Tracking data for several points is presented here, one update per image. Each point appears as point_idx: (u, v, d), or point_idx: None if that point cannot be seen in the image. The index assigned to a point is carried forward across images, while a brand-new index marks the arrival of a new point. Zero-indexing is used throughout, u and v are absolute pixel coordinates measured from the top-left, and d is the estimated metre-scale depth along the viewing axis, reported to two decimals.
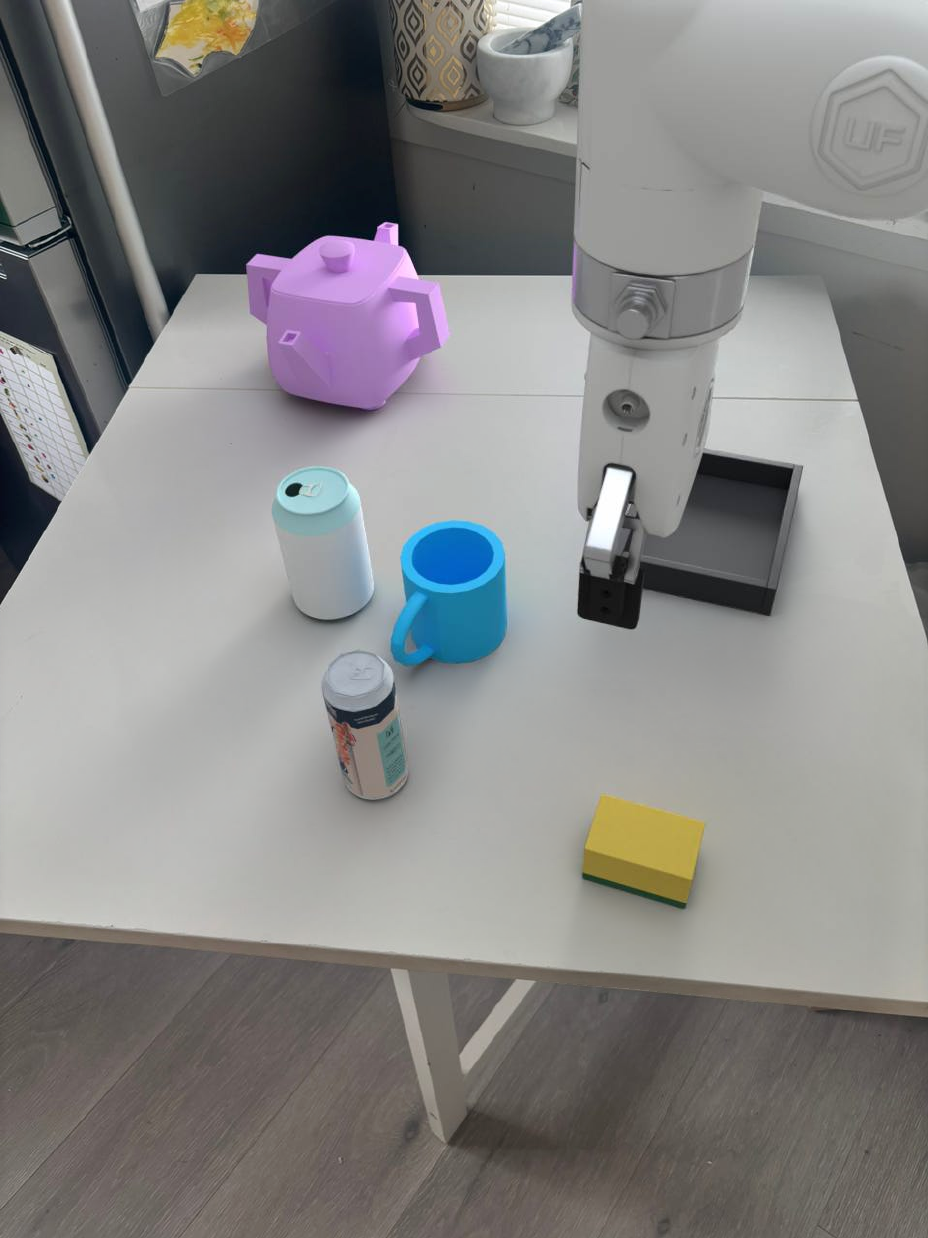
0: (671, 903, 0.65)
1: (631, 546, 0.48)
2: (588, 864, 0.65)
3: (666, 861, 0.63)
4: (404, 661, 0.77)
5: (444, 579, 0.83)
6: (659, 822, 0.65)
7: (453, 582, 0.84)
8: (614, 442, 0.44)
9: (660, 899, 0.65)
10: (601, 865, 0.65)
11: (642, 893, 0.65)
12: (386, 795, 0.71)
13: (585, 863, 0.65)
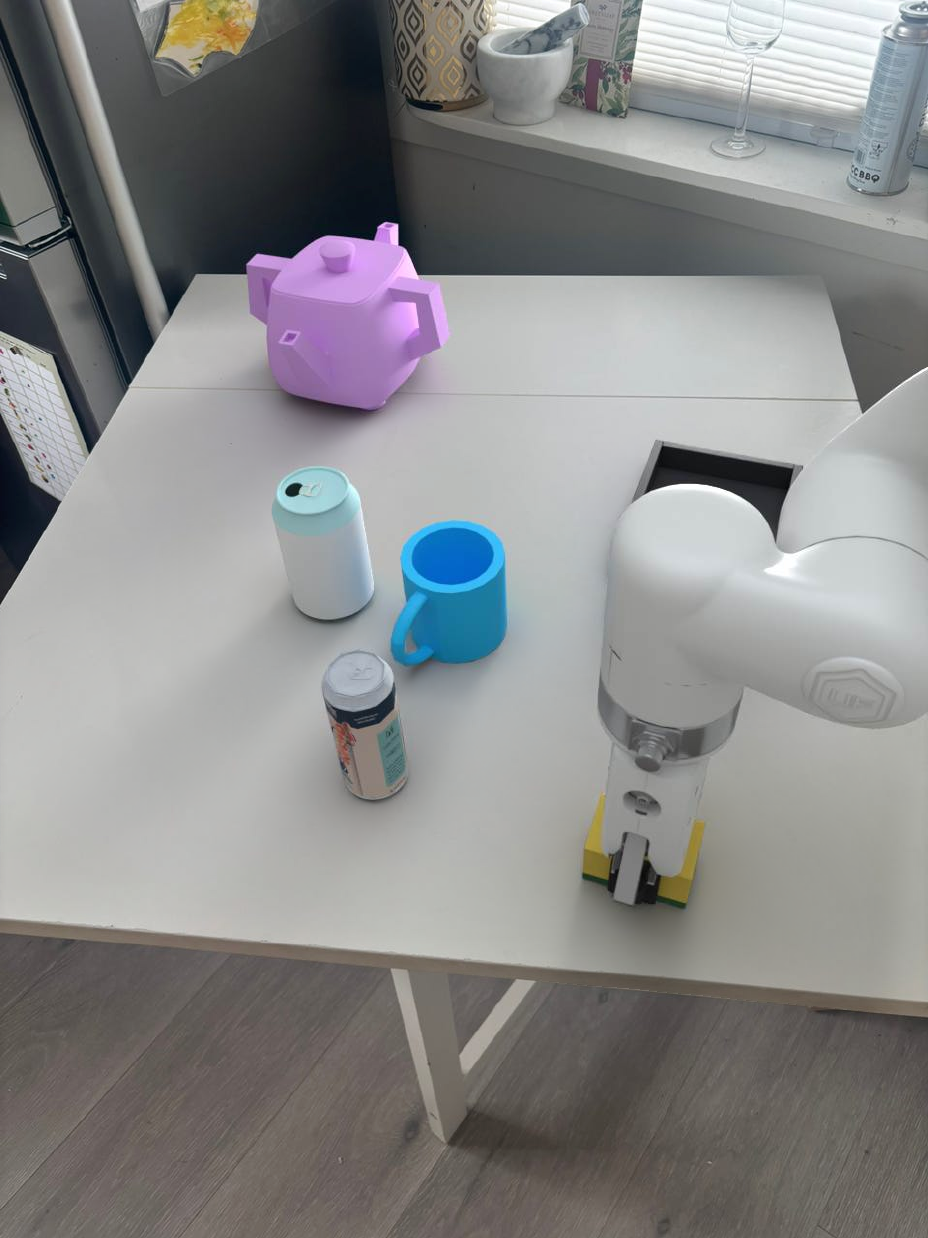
0: (671, 903, 0.65)
1: (649, 867, 0.60)
2: (588, 864, 0.65)
3: None
4: (404, 661, 0.77)
5: (444, 579, 0.83)
6: None
7: (453, 582, 0.84)
8: (632, 821, 0.55)
9: (660, 899, 0.65)
10: (601, 865, 0.65)
11: None
12: (386, 795, 0.71)
13: (585, 863, 0.65)
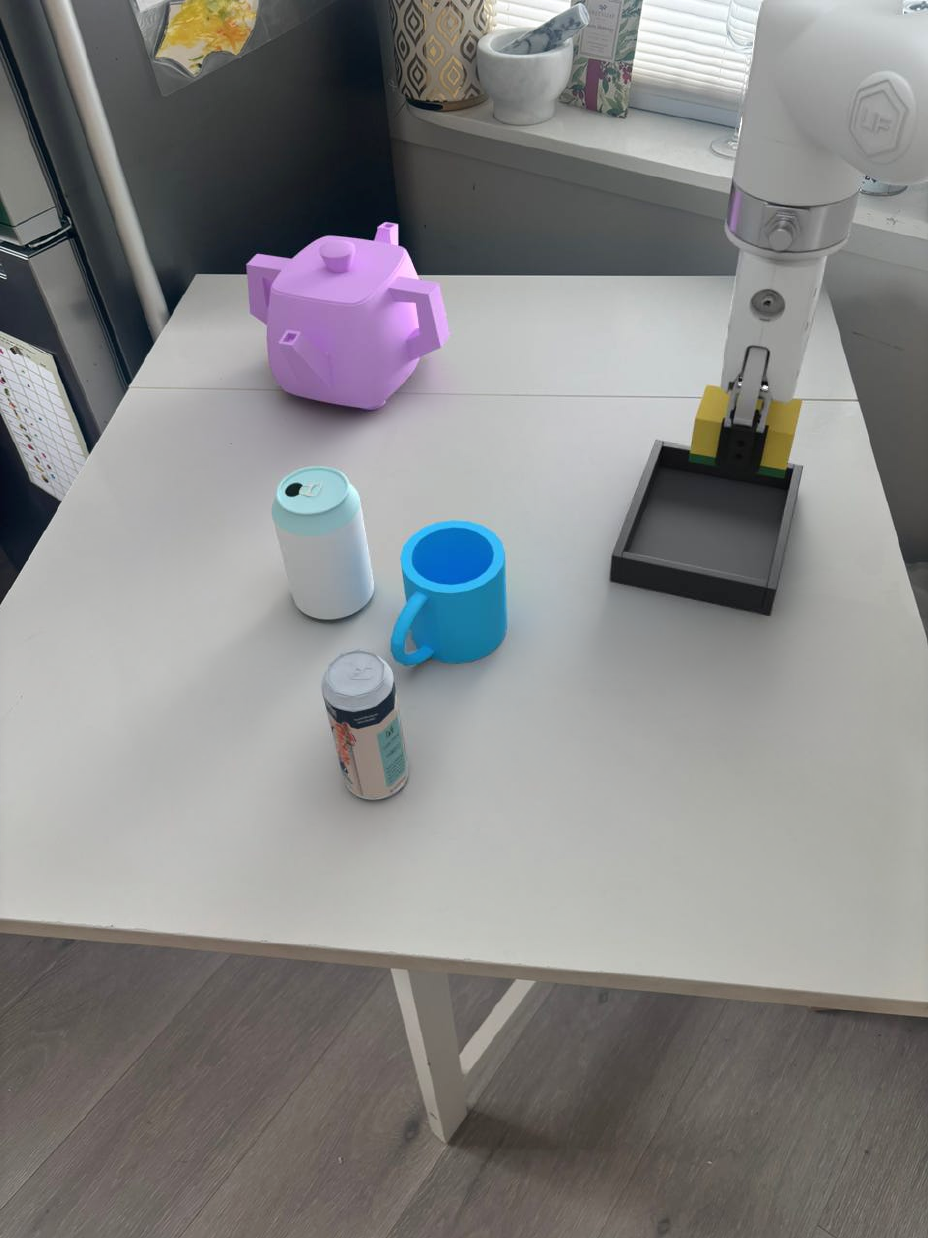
0: (771, 473, 0.73)
1: (761, 410, 0.68)
2: (697, 439, 0.73)
3: (770, 423, 0.71)
4: (404, 661, 0.77)
5: (444, 579, 0.83)
6: (761, 400, 0.73)
7: (453, 582, 0.84)
8: (756, 329, 0.62)
9: (761, 470, 0.73)
10: (709, 437, 0.72)
11: None
12: (386, 795, 0.71)
13: (694, 438, 0.73)
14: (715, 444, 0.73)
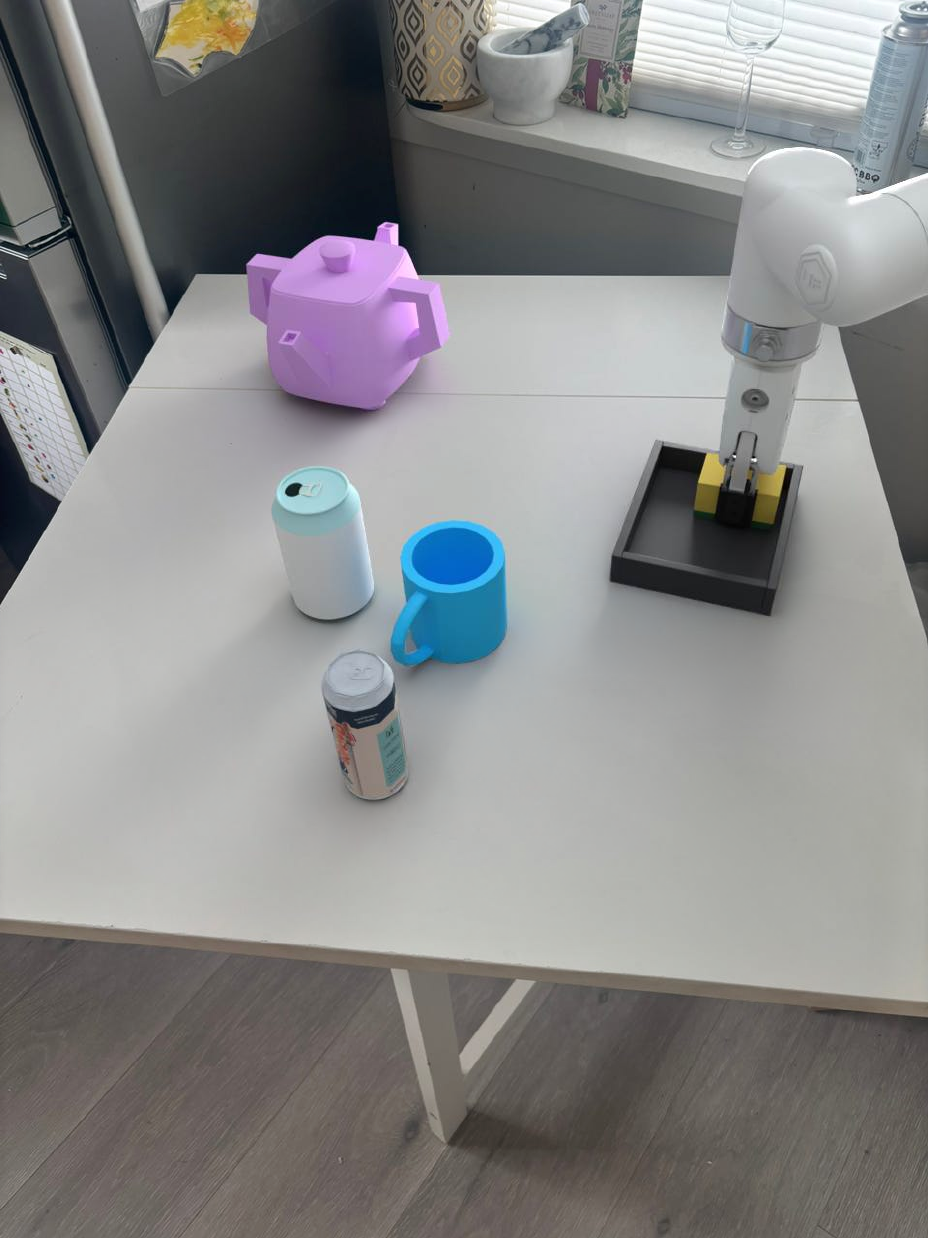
0: (761, 526, 0.88)
1: (751, 479, 0.83)
2: (700, 499, 0.88)
3: (759, 487, 0.86)
4: (404, 661, 0.77)
5: (444, 579, 0.83)
6: None
7: (453, 582, 0.84)
8: (746, 418, 0.78)
9: (753, 524, 0.88)
10: (709, 498, 0.88)
11: None
12: (386, 795, 0.71)
13: (697, 498, 0.88)
14: (714, 503, 0.88)
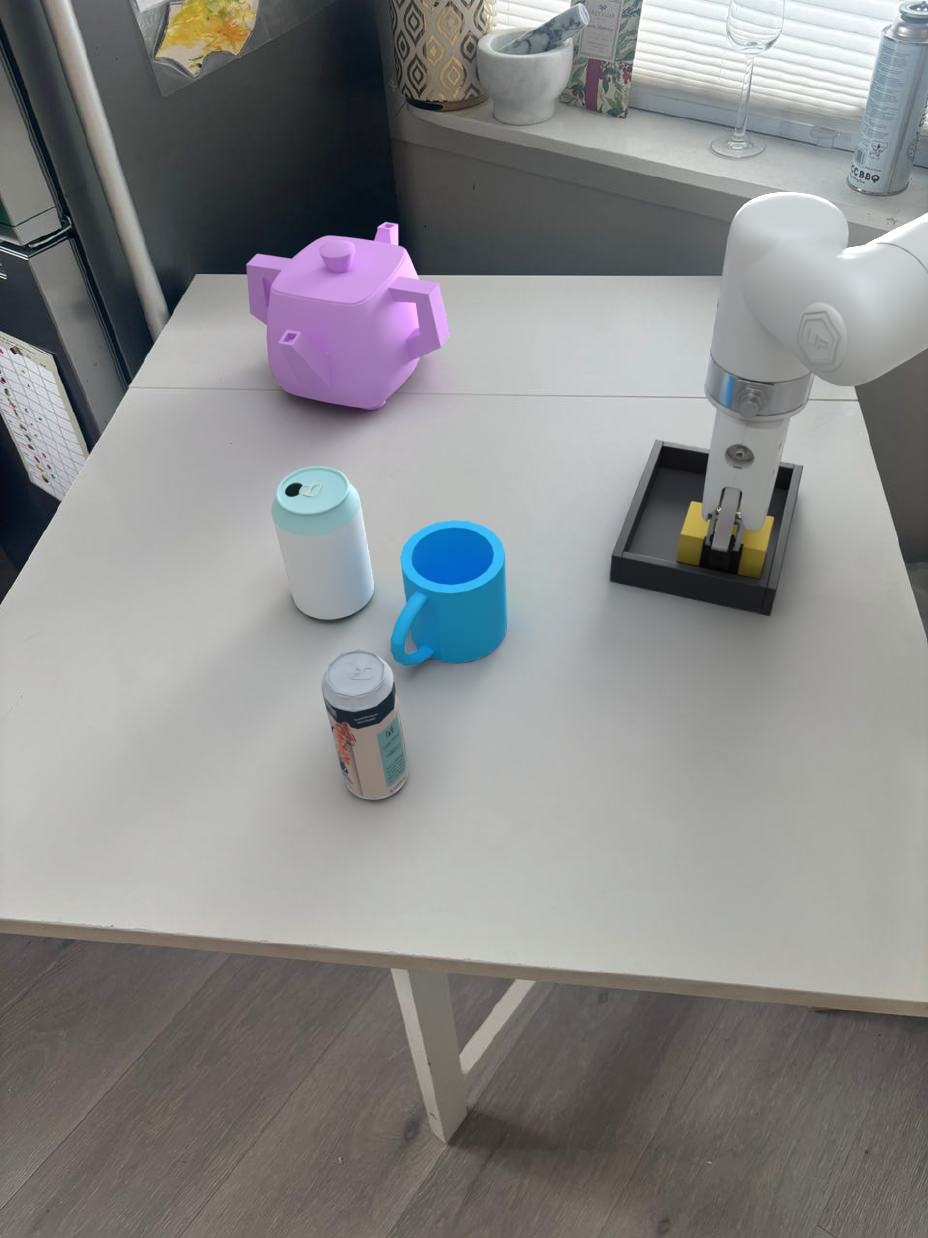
0: None
1: (736, 534, 0.79)
2: (682, 551, 0.84)
3: (745, 540, 0.82)
4: (404, 661, 0.77)
5: (444, 579, 0.83)
6: None
7: (453, 582, 0.84)
8: (730, 474, 0.73)
9: None
10: (693, 549, 0.83)
11: None
12: (386, 795, 0.71)
13: (680, 550, 0.84)
14: (698, 555, 0.84)
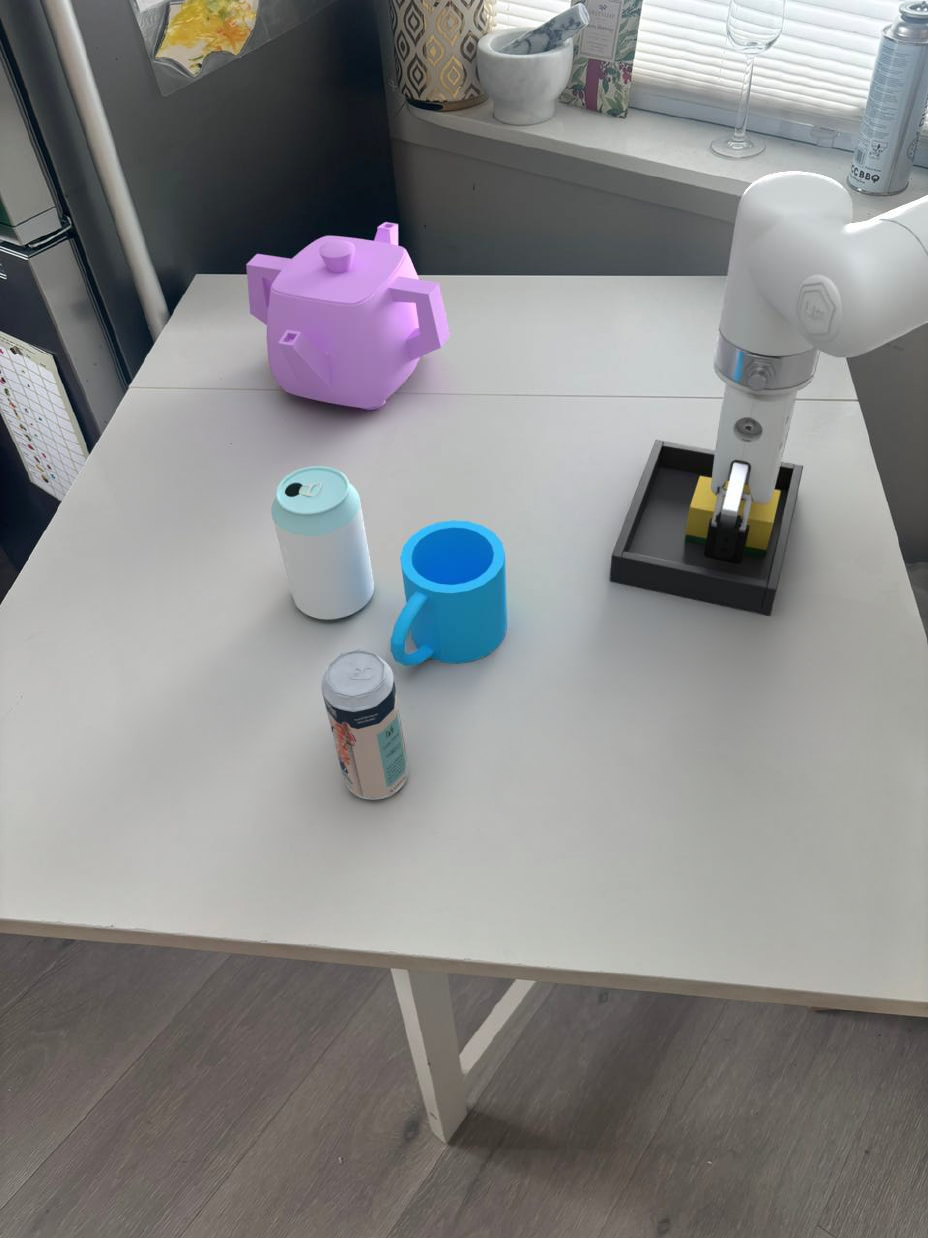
0: (754, 552, 0.86)
1: (744, 510, 0.79)
2: (691, 524, 0.86)
3: (752, 512, 0.84)
4: (404, 661, 0.77)
5: (444, 579, 0.83)
6: (745, 491, 0.86)
7: (453, 582, 0.84)
8: (739, 447, 0.75)
9: (746, 550, 0.86)
10: (702, 522, 0.86)
11: None
12: (386, 795, 0.71)
13: (689, 523, 0.86)
14: (707, 528, 0.86)
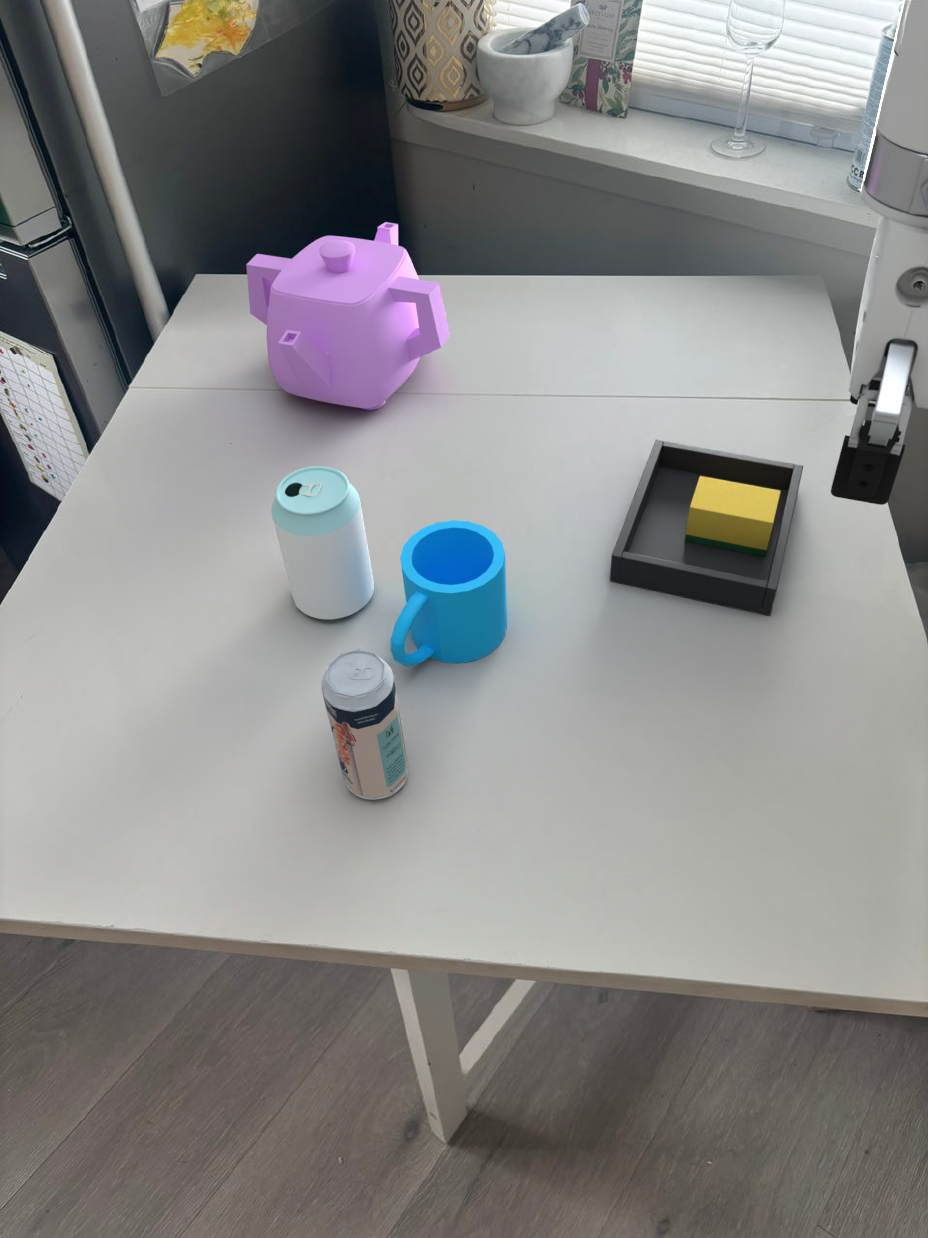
0: (754, 552, 0.86)
1: (899, 419, 0.53)
2: (691, 524, 0.86)
3: (752, 512, 0.84)
4: (404, 661, 0.77)
5: (444, 579, 0.83)
6: (745, 491, 0.86)
7: (453, 582, 0.84)
8: (902, 318, 0.50)
9: (746, 550, 0.86)
10: (702, 522, 0.86)
11: (732, 546, 0.86)
12: (386, 795, 0.71)
13: (689, 523, 0.86)
14: (707, 528, 0.86)
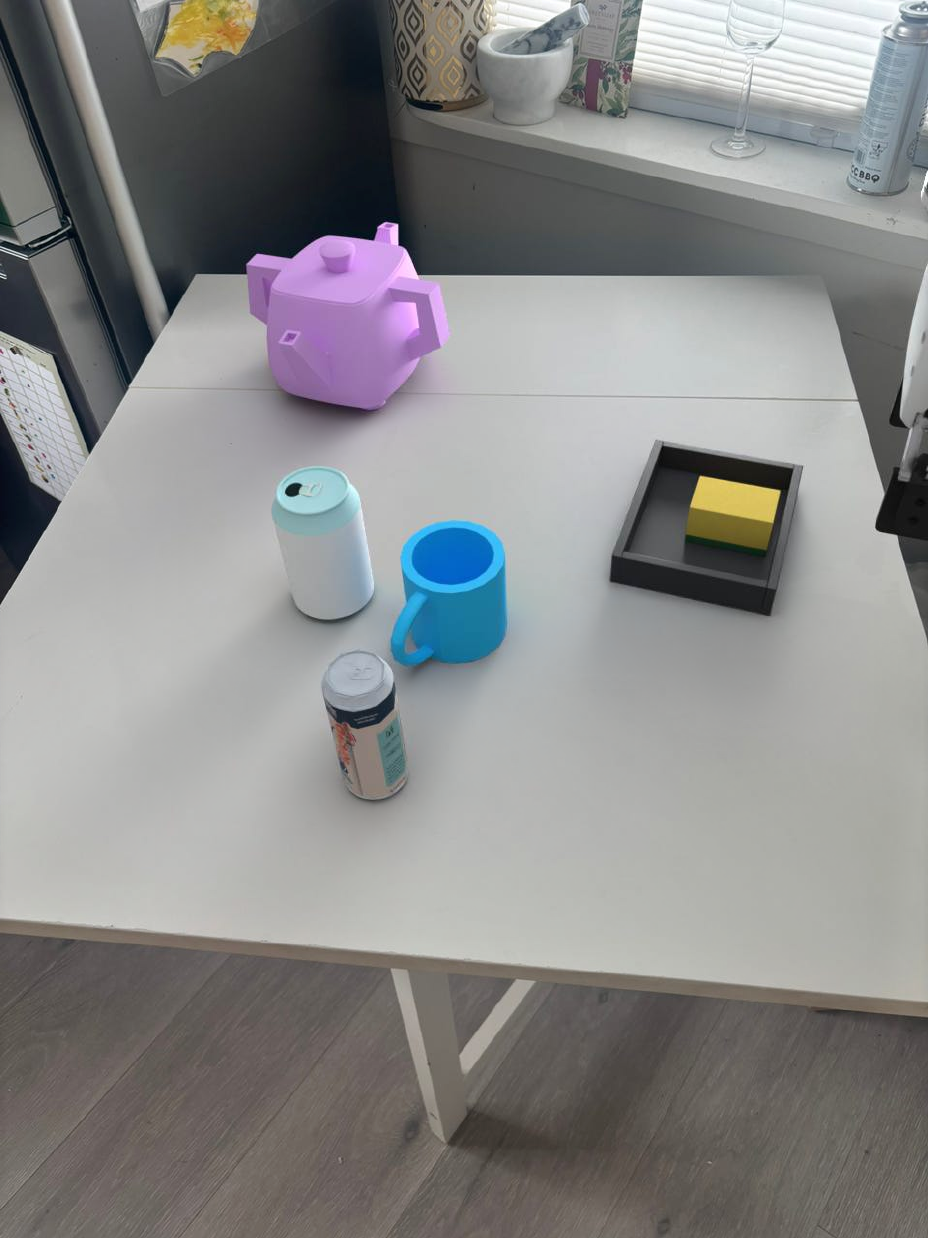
0: (754, 552, 0.86)
1: None
2: (691, 524, 0.86)
3: (752, 512, 0.84)
4: (404, 661, 0.77)
5: (444, 579, 0.83)
6: (745, 491, 0.86)
7: (453, 582, 0.84)
8: None
9: (746, 550, 0.86)
10: (702, 522, 0.86)
11: (732, 546, 0.86)
12: (386, 795, 0.71)
13: (689, 523, 0.86)
14: (707, 528, 0.86)
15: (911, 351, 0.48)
